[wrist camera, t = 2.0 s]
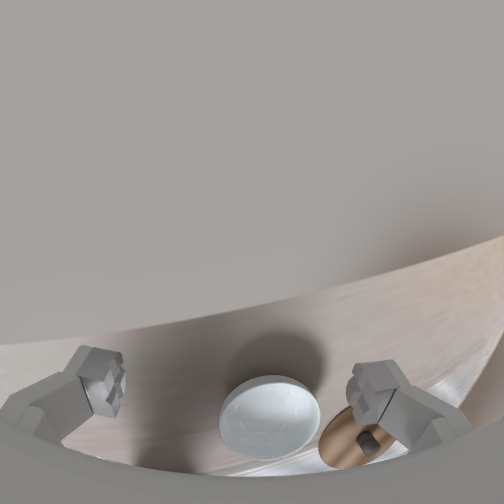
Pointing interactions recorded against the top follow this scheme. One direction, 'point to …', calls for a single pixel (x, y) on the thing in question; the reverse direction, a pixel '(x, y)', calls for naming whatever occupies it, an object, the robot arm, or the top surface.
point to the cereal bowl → (268, 418)
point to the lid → (352, 442)
